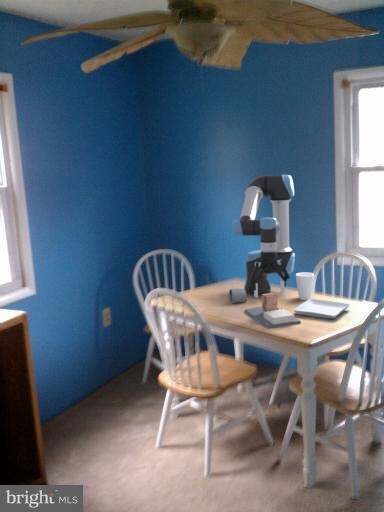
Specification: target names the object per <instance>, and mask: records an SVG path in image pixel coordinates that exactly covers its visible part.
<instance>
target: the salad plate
mask: <svg viewBox="0 0 384 512" xmlns="http://www.w3.org/2000/svg"><path fill="white" fill-rule="evenodd" d="M350 306H351V305H350V303H345V302H339V301H331V300H323V299H314V298H311V299H309V300H305V301H304V302H303V303H301V304H299V305H297V306H296V307H295V308H293V310H292V312H294V313H295V314H298V315H301V316H306V317H313V318H321V319H331V320H332V319H335V318H336V317H337V316H339V315H341V314H342V312H344V311H345V310H347V309H348V308H349V307H350Z"/></svg>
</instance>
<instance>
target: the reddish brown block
mask: <svg viewBox="0 0 384 512" xmlns="http://www.w3.org/2000/svg"><path fill="white" fill-rule="evenodd" d="M261 302H262V304H261V305H262V306H261V307H262V311H263V313H264V311H269V310H277V307H278V295H276V294H275V293H273V292H270V293H268V294H262V295H261Z"/></svg>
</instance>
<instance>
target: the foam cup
mask: <svg viewBox="0 0 384 512" xmlns="http://www.w3.org/2000/svg"><path fill="white" fill-rule="evenodd" d="M295 280H296V287H297V293H298V299H299V300H302V301H307V300H309V299H312V297H313V288H314V280H315V274H314V273H313V272H305V271H304V272H303V271H302V272H297V273H296V274H295Z"/></svg>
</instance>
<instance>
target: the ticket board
mask: <svg viewBox="0 0 384 512" xmlns="http://www.w3.org/2000/svg"><path fill="white" fill-rule="evenodd" d="M243 311H244V312H245V313H246V314H247V315H249V316H250V317H251V318H253V319H254V320H256V321H257V322H258V323H260V324H262V325H263V326H264V327H266V328H267V329H270V328H277V327H278V328H279V327H284V326H291V325H298V324H299V325H300V324H301V323H302V322H301V320H300V319H298V318H296V317H295V315H294V314H293V313H291V312H290V311H288V310H286V309H284V308H280V307H278V306H277V310H269V311H264V313H263V311H262V306H260V307H259V306H258V307H251V308H245V309H244V310H243Z"/></svg>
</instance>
